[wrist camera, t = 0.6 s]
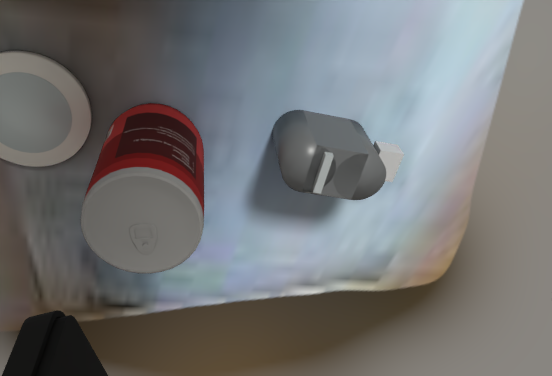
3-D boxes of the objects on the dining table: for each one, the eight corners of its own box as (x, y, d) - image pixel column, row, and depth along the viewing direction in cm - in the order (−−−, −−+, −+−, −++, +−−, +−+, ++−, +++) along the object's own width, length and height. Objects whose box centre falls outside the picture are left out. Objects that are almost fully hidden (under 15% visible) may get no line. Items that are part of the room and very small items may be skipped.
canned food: (131, 198, 45) (113, 287, 35) (88, 116, 40) (54, 194, 31) (217, 172, 44) (221, 256, 35) (183, 87, 40) (177, 156, 31)
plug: (267, 149, 44) (276, 191, 38) (279, 105, 42) (290, 143, 36) (377, 168, 46) (401, 210, 40) (394, 127, 44) (421, 166, 39)
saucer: (-40, 38, 36) (-45, 42, 35) (96, 64, 38) (93, 68, 37) (-34, 151, 41) (-39, 157, 40) (88, 169, 43) (85, 175, 42)
